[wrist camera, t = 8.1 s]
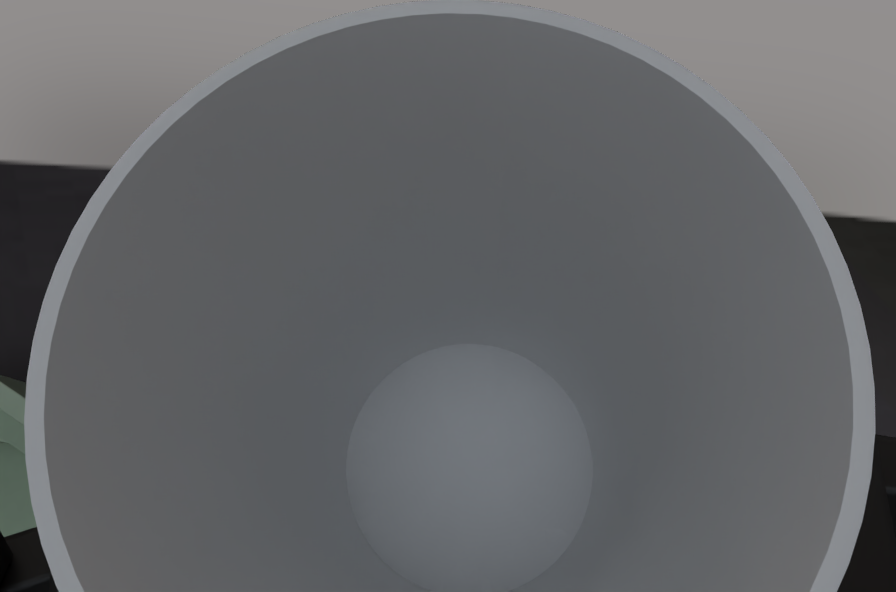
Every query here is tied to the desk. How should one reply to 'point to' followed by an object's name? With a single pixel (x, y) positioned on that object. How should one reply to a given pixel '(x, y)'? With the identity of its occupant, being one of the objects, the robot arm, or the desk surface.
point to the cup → (450, 330)
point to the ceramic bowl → (13, 460)
